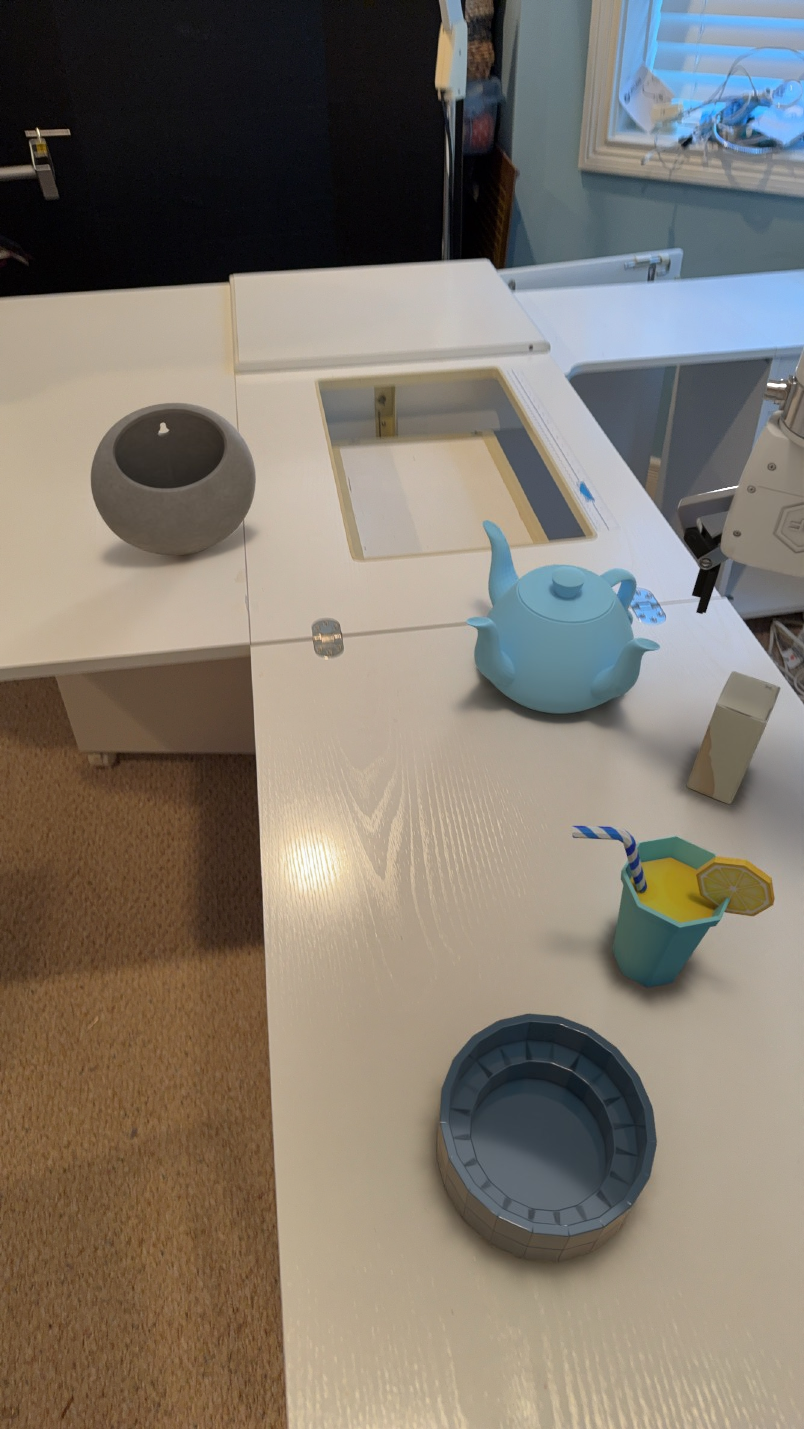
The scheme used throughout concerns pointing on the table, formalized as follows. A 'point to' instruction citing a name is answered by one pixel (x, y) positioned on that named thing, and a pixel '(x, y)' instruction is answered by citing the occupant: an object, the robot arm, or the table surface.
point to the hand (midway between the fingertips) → (765, 618)
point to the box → (732, 736)
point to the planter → (173, 479)
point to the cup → (675, 900)
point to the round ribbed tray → (544, 1136)
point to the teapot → (557, 634)
